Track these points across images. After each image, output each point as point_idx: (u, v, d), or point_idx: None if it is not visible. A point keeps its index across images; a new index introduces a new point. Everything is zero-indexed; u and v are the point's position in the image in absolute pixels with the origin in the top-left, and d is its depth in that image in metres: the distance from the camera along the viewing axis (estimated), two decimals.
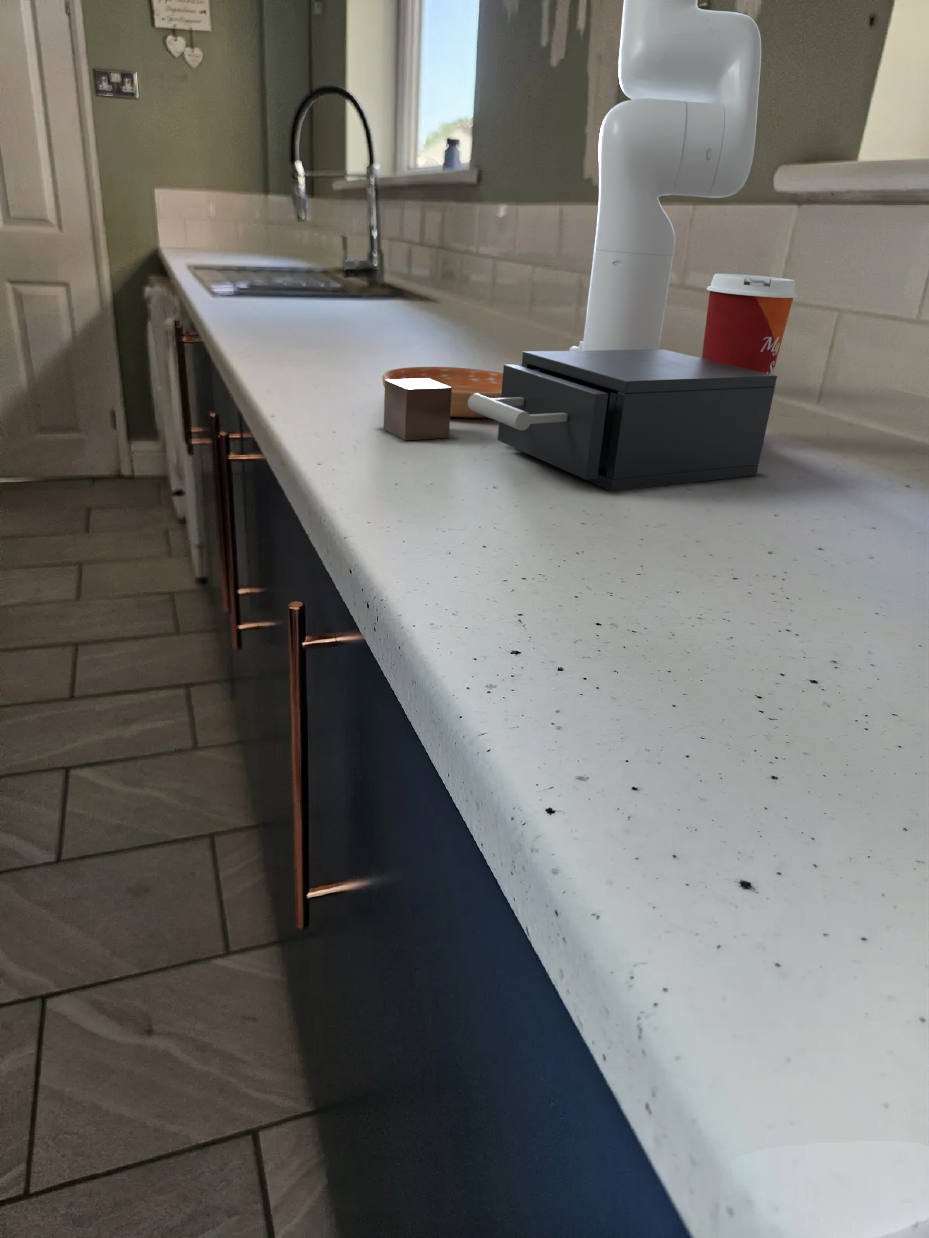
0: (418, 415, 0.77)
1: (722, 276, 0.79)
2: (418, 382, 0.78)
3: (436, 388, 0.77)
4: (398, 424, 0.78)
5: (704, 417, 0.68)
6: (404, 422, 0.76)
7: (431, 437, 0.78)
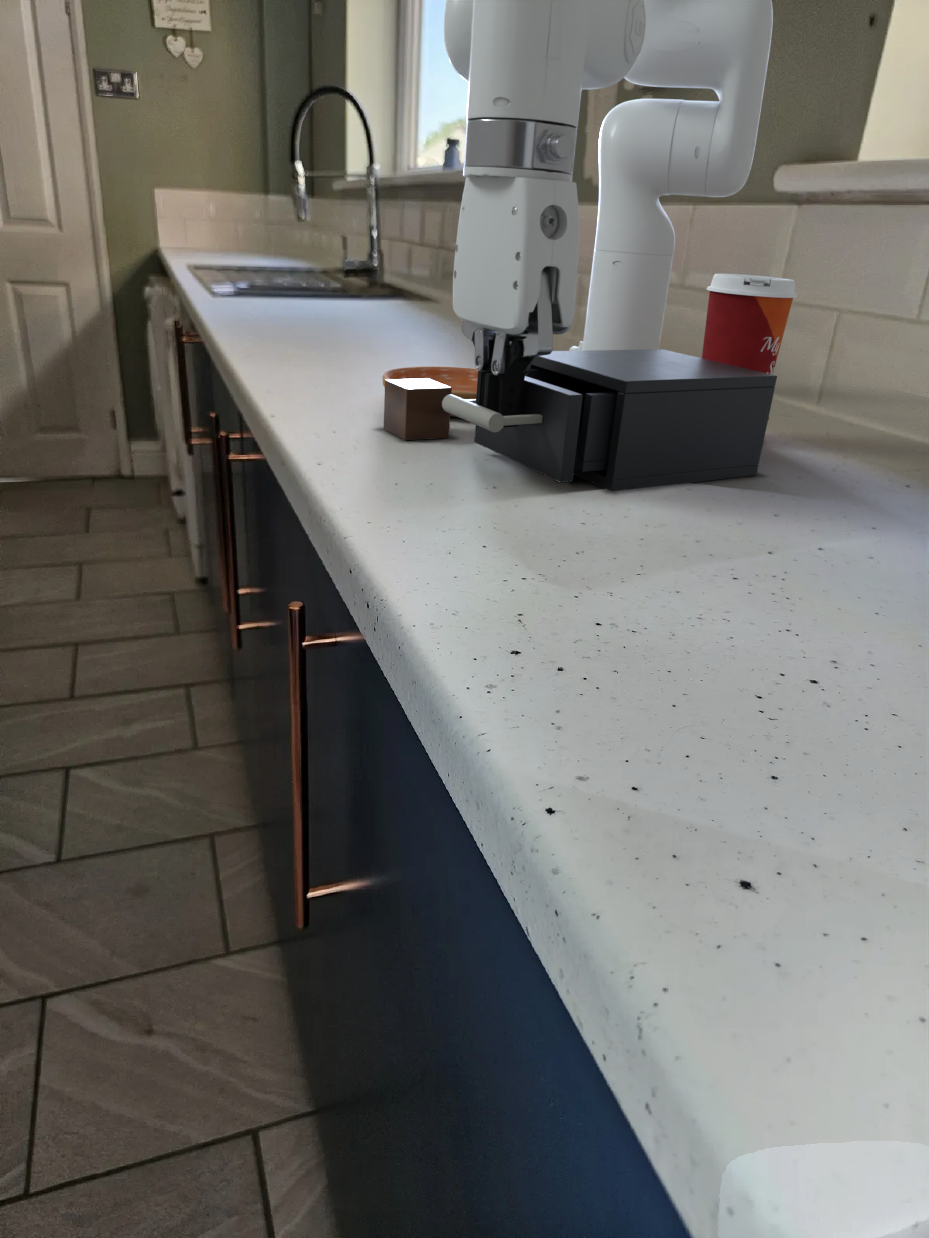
0: (418, 415, 0.77)
1: (722, 276, 0.79)
2: (418, 382, 0.78)
3: (436, 388, 0.77)
4: (398, 424, 0.78)
5: (704, 417, 0.68)
6: (404, 422, 0.76)
7: (431, 437, 0.78)
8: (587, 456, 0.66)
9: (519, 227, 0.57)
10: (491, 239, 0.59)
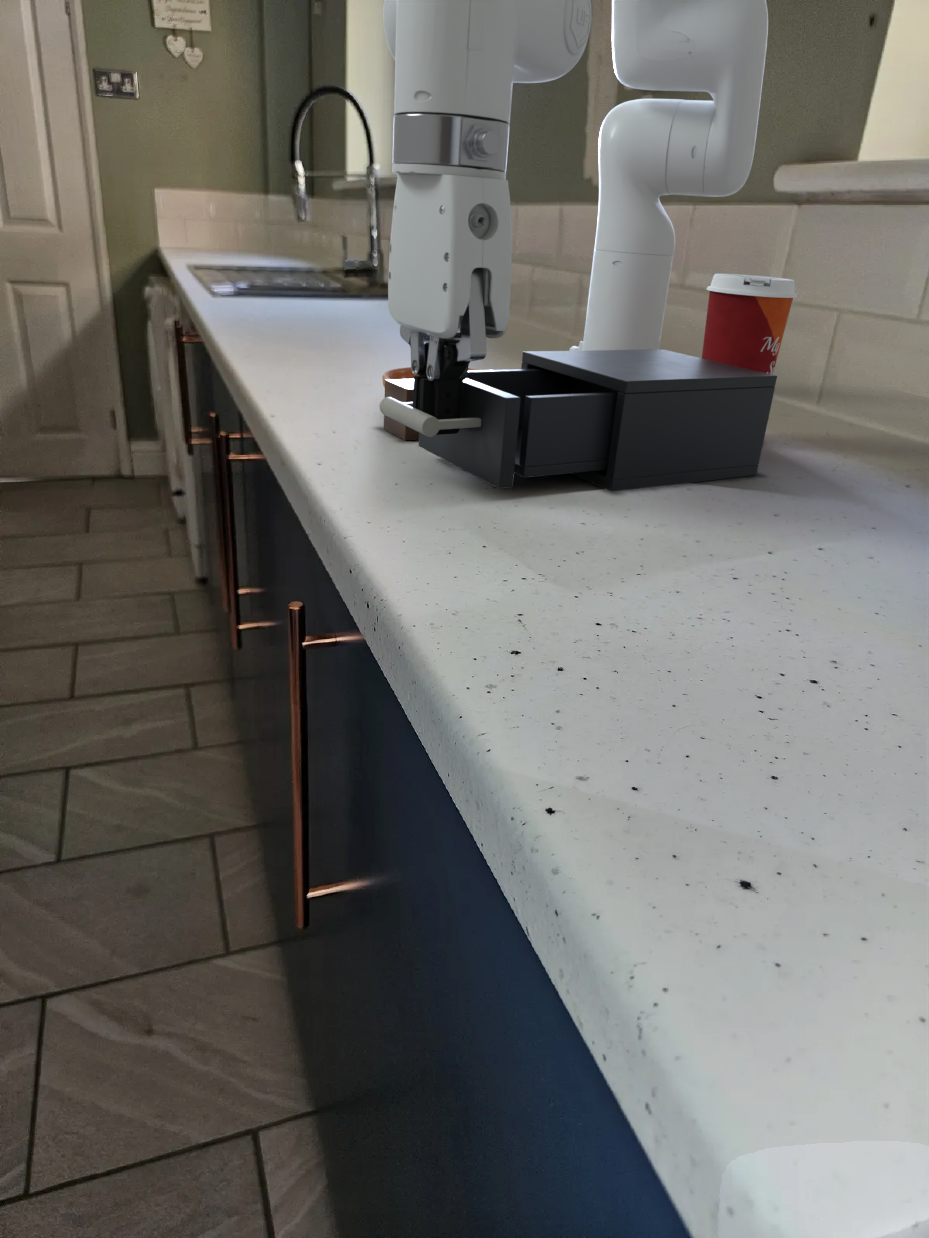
0: None
1: (722, 276, 0.79)
2: None
3: None
4: (398, 424, 0.78)
5: (704, 417, 0.68)
6: None
7: None
8: (528, 461, 0.63)
9: (447, 227, 0.55)
10: (421, 239, 0.57)
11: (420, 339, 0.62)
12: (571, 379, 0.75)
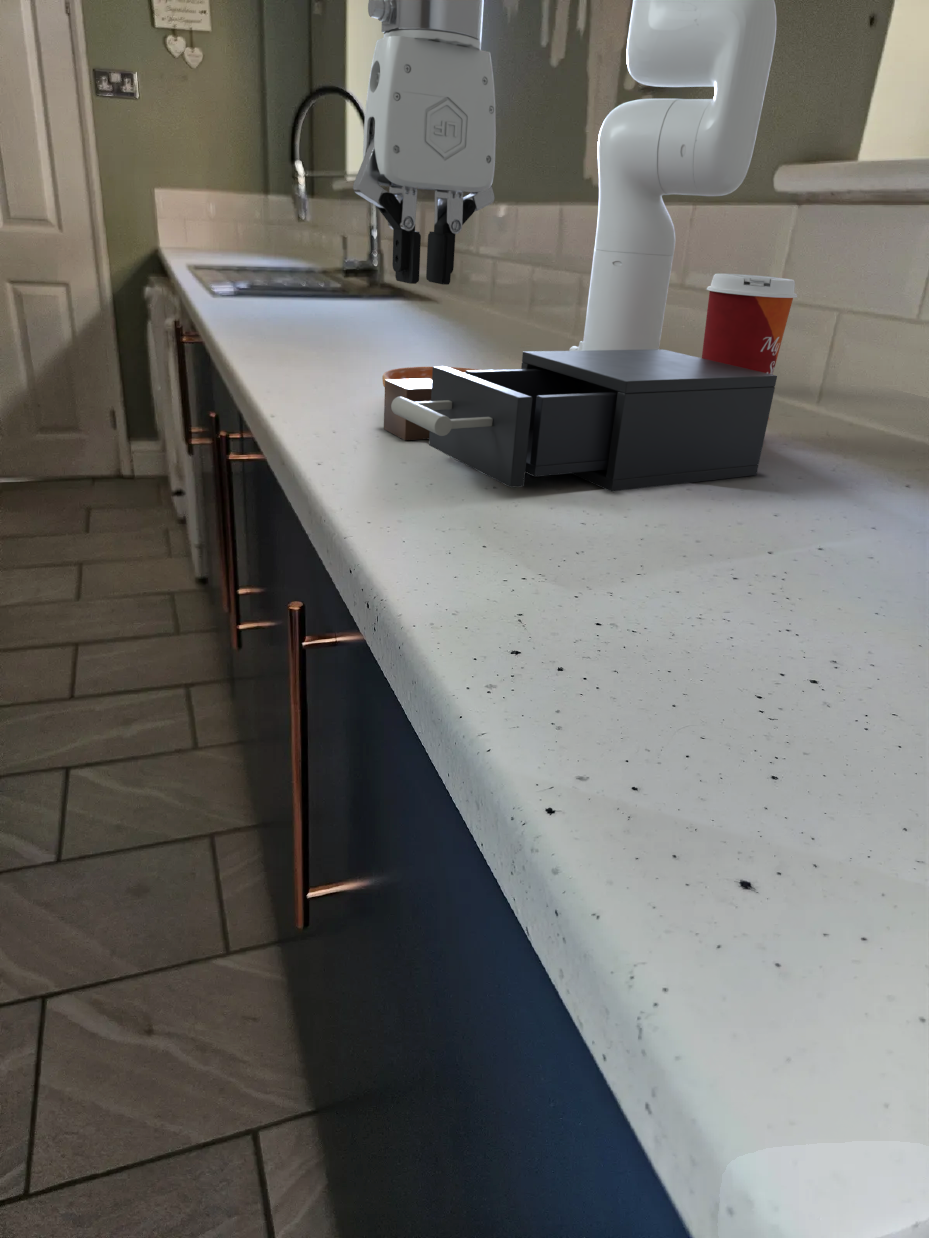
0: None
1: (722, 276, 0.79)
2: (418, 382, 0.78)
3: None
4: (398, 424, 0.78)
5: (704, 417, 0.68)
6: (404, 422, 0.76)
7: None
8: (539, 460, 0.64)
9: None
10: None
11: (439, 199, 0.73)
12: None
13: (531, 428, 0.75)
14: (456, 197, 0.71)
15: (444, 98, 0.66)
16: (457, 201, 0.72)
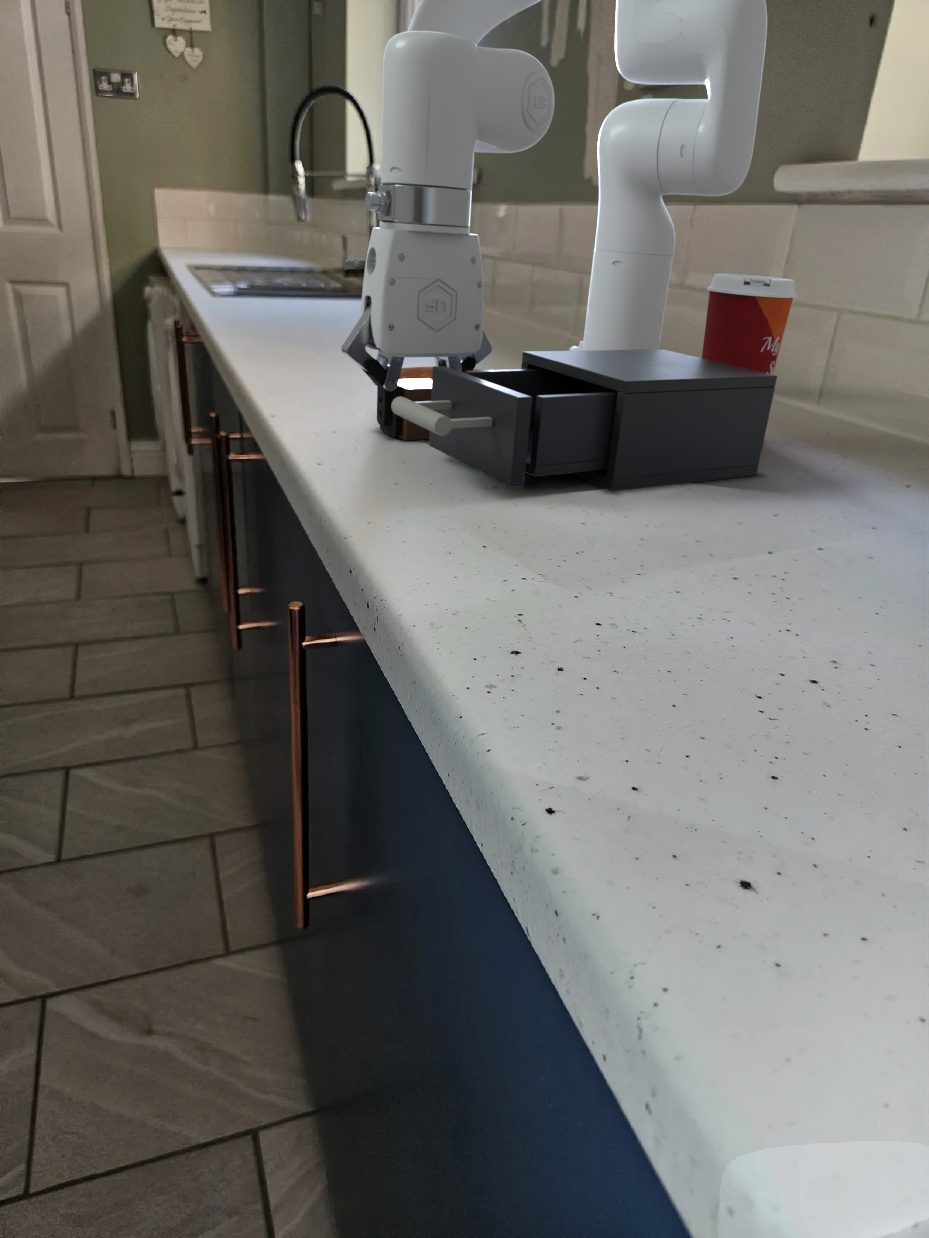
0: None
1: (722, 276, 0.79)
2: (418, 382, 0.78)
3: None
4: None
5: (704, 417, 0.68)
6: (404, 422, 0.76)
7: None
8: (539, 460, 0.64)
9: None
10: None
11: None
12: None
13: (531, 428, 0.75)
14: (454, 358, 0.77)
15: (435, 279, 0.72)
16: (455, 361, 0.77)
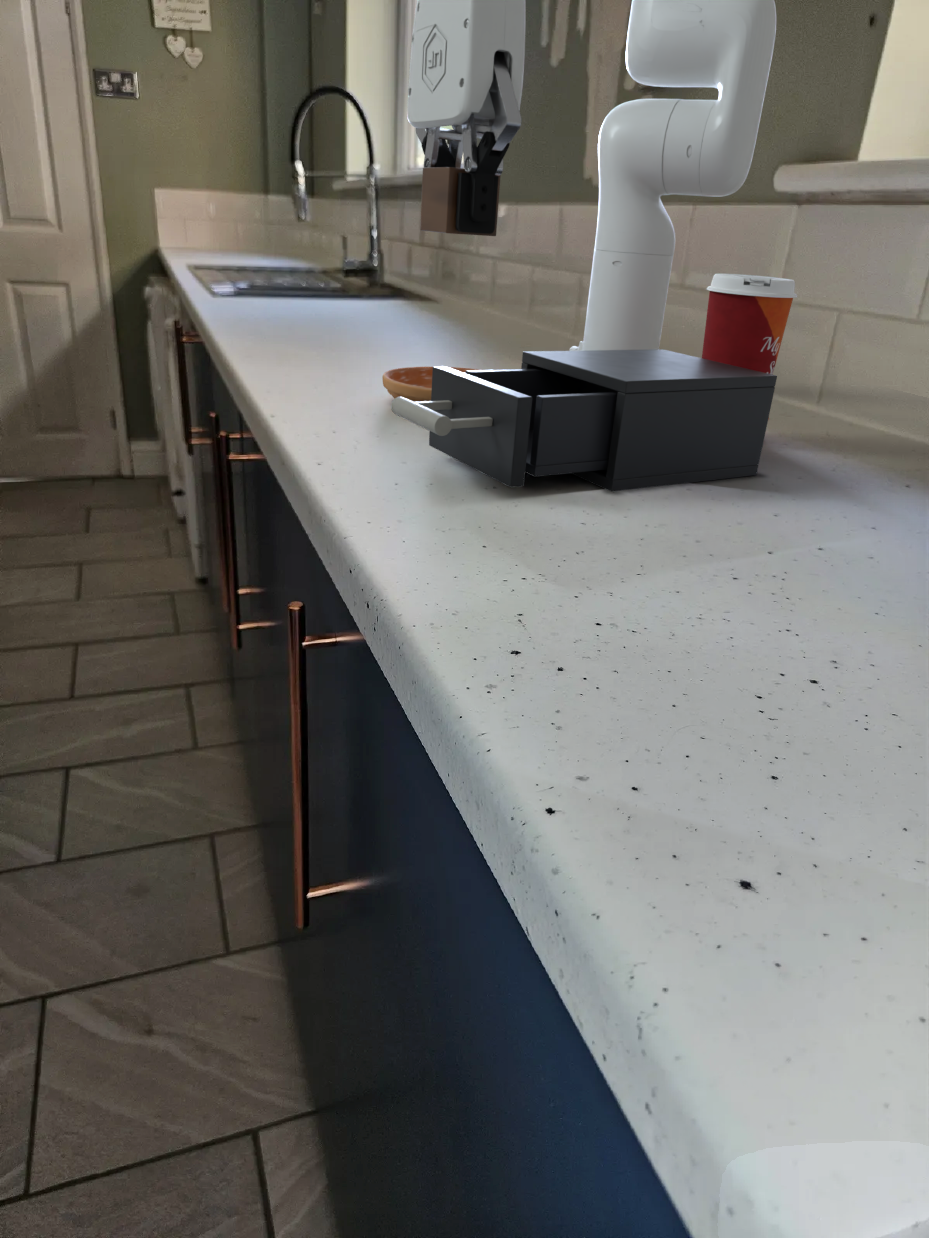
0: (427, 200, 0.68)
1: (722, 276, 0.79)
2: None
3: (441, 168, 0.66)
4: None
5: (704, 417, 0.68)
6: (422, 208, 0.69)
7: (435, 230, 0.68)
8: (539, 460, 0.64)
9: None
10: None
11: None
12: None
13: (531, 428, 0.75)
14: (466, 132, 0.63)
15: (435, 26, 0.62)
16: (467, 136, 0.63)
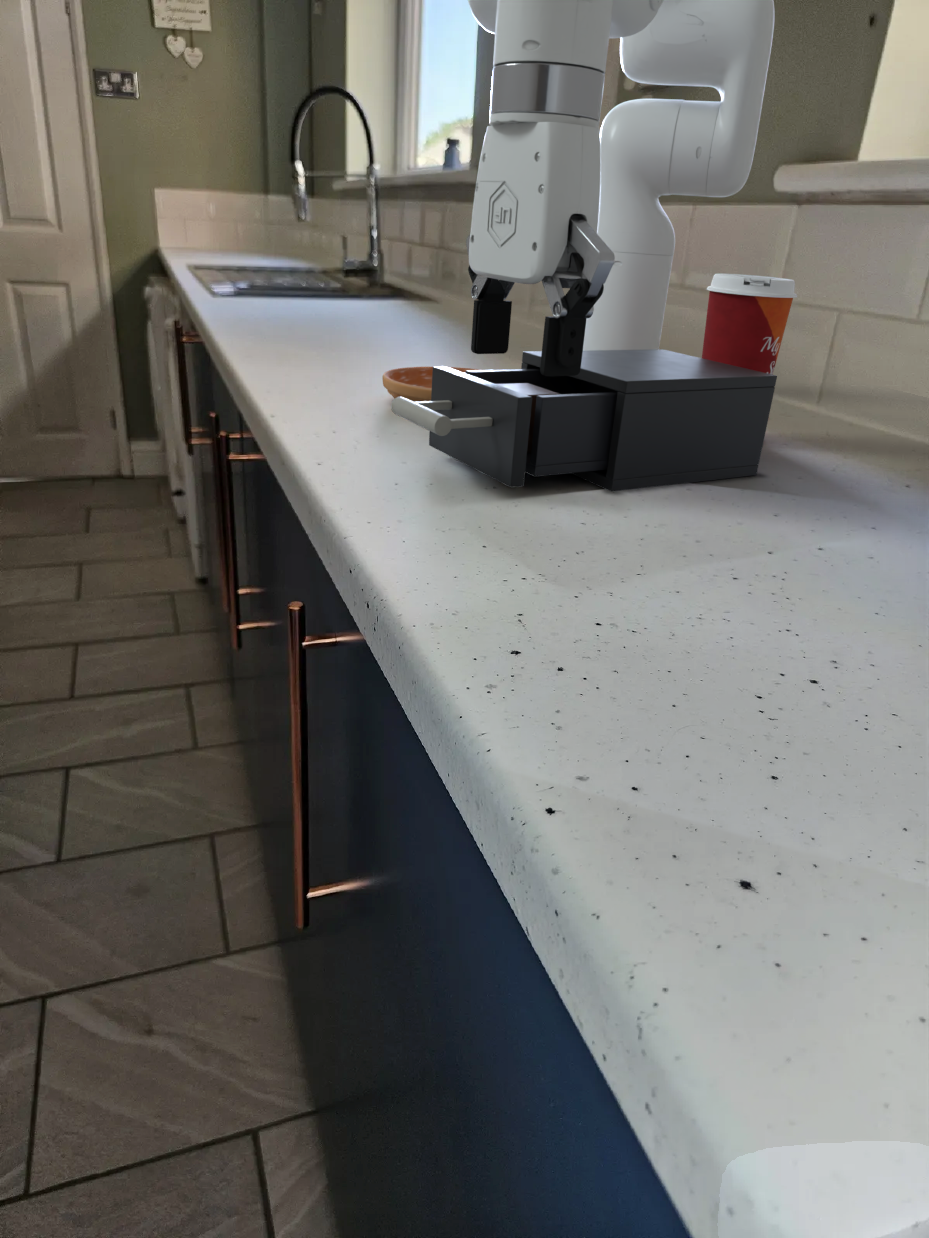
0: None
1: (722, 276, 0.79)
2: (527, 389, 0.67)
3: None
4: None
5: (704, 417, 0.68)
6: None
7: None
8: (539, 460, 0.64)
9: None
10: None
11: None
12: None
13: None
14: (547, 281, 0.60)
15: (503, 183, 0.60)
16: (549, 284, 0.60)
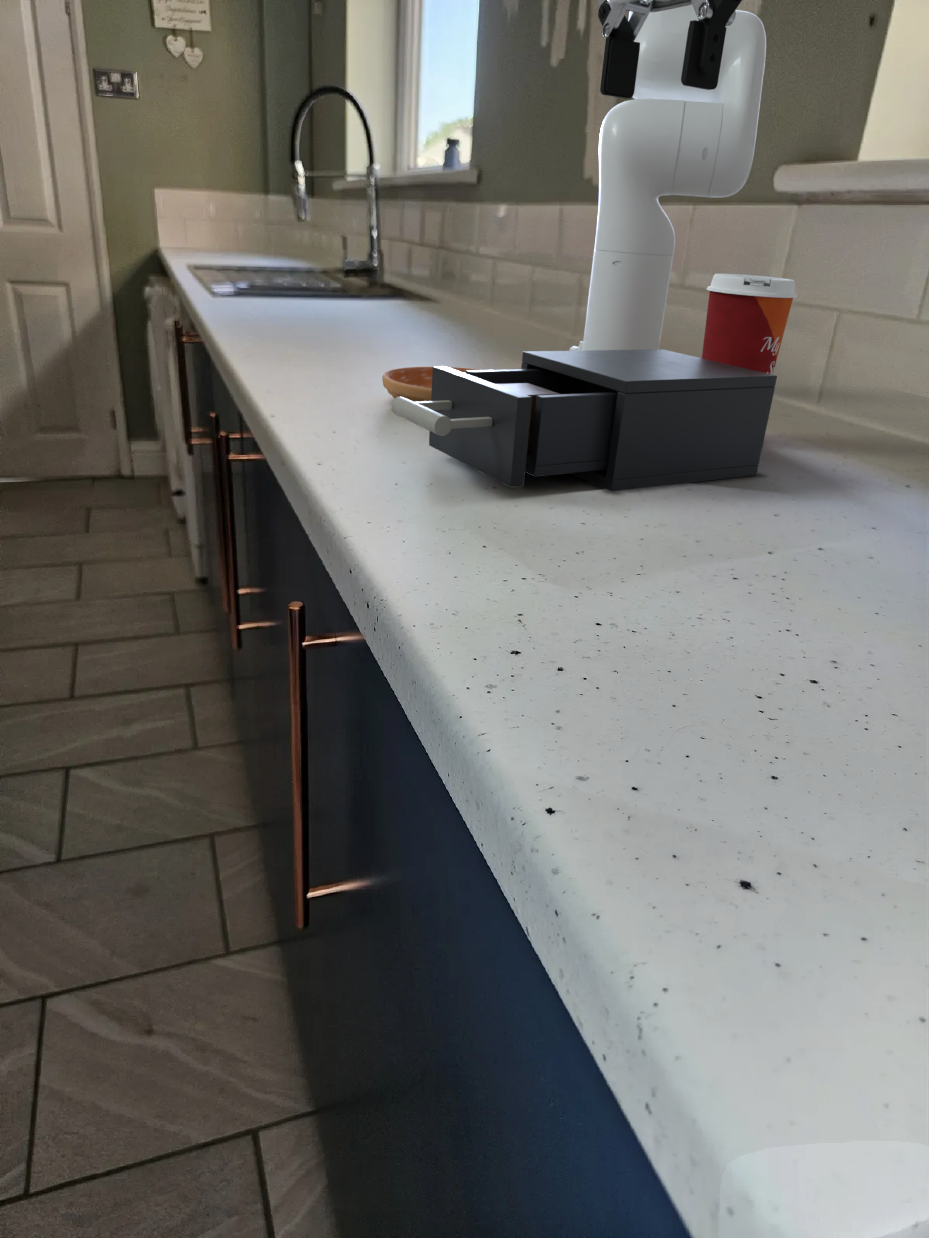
0: None
1: (722, 276, 0.79)
2: (527, 389, 0.67)
3: None
4: None
5: (704, 417, 0.68)
6: None
7: None
8: (539, 460, 0.64)
9: None
10: None
11: None
12: None
13: None
14: None
15: None
16: None
